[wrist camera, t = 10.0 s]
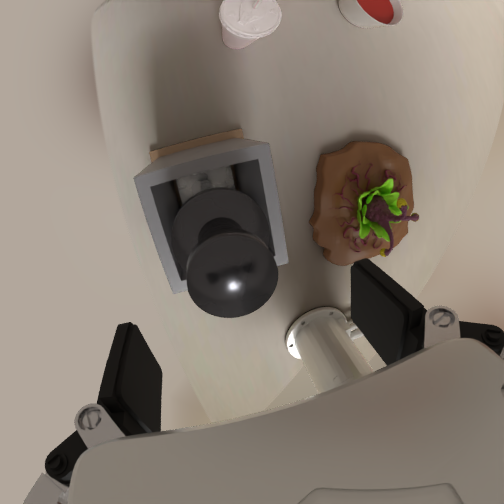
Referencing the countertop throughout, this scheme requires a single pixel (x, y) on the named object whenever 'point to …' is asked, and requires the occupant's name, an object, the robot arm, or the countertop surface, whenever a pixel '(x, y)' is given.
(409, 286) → the countertop surface
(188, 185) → the plunger
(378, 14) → the candle
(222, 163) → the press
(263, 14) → the smoothie
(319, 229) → the plant
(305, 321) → the robot arm
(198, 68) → the countertop surface
